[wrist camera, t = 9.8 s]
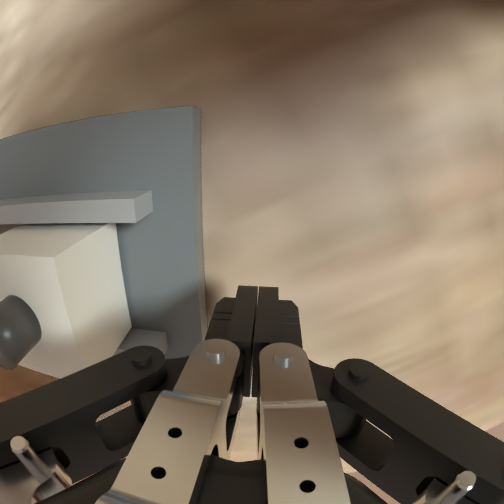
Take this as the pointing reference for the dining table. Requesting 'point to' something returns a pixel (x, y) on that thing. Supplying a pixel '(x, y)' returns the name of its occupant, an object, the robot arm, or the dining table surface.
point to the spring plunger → (61, 297)
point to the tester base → (124, 208)
